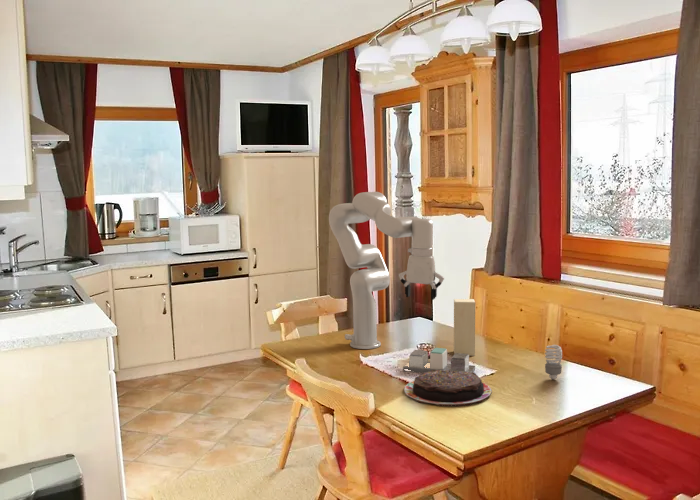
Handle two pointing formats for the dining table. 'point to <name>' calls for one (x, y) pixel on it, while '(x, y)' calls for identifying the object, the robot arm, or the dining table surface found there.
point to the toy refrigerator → (464, 326)
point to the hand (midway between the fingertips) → (420, 297)
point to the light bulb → (553, 361)
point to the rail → (457, 364)
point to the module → (438, 358)
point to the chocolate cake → (448, 388)
